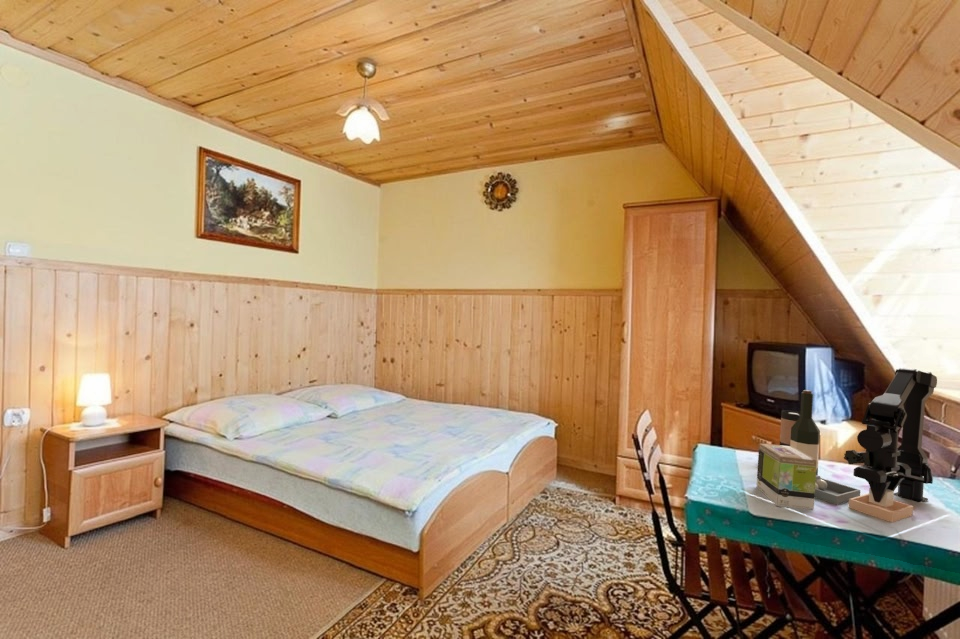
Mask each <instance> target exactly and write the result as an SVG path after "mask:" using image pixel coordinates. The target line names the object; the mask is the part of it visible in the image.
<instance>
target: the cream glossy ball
mask: <svg viewBox="0 0 960 639" xmlns="http://www.w3.org/2000/svg"><path fill="white" fill-rule="evenodd" d="M815 483H816V484H817V485H818V487H819V489H820V490H825V489H826V488H827V483H826V482H825V481H824V480H822V479H818V480H816V482H815Z"/></svg>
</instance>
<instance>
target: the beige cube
mask: <svg viewBox="0 0 960 639" xmlns="http://www.w3.org/2000/svg"><path fill="white" fill-rule="evenodd" d="M868 491H869V492H868V494H869V502H871V503H875V504H878V505H881V506H884V507H888V506H891V505H893V500H894V496H895V495H894V493H895V490H894V491H892V490H889V489H887V490H886V492H885V494H884V496H883V498H882V499H881V501H880V502H879V503H878V502H875V501H874V498H873V495H872V491H871V488H870V487H869V490H868Z"/></svg>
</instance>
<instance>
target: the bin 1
mask: <svg viewBox="0 0 960 639" xmlns="http://www.w3.org/2000/svg"><path fill="white" fill-rule="evenodd" d="M818 479H822V480H824V481H825V482H826V483H827V488H826V489H825V490H820V489H815V495H814V499H818V500H822V501H825V502H827V503H830V504H833V505H842V504H845V503H849V499H851V498H854V497H858V496H861V489H858V488H855V487H851V486H849V485H846V484H842V483H839V482H835V481H832V480H829V479H826V478H823V477H822V476H820V475H818V476H817V475H816V480H818Z"/></svg>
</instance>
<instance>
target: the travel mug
mask: <svg viewBox="0 0 960 639" xmlns="http://www.w3.org/2000/svg"><path fill="white" fill-rule="evenodd" d="M799 417H800V411H797V410H788V409H787V410H786V409H785V410H781V417H780V432H779V445H783V446H790V441H791V427H792V426H793V425H794V424H795V422H796V421H797V420H798V419H799Z"/></svg>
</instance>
